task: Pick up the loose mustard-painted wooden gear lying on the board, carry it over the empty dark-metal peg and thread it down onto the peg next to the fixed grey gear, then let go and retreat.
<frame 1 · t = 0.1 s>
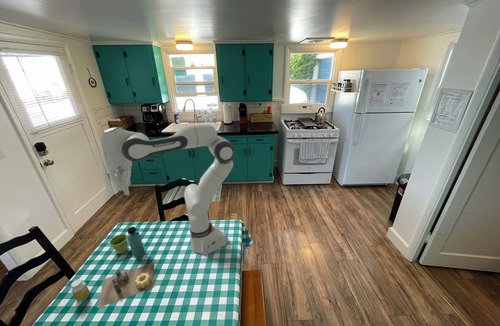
hand: (128, 189, 98), 48 cm above the table, fingers open, 8 cm apart
gear board: (129, 284, 103), on the table
plant pot: (122, 250, 125), on the table
supplement bottle: (83, 296, 99), on the table
loose gear: (143, 282, 103), point 1 cm above the table, touching gear board
beverage bottle: (139, 255, 121), on the table
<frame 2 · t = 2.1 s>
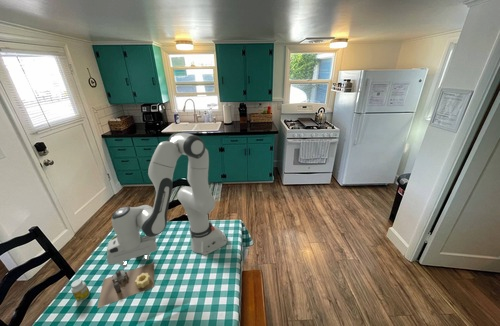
hand: (136, 262, 97), 15 cm above the table, fingers open, 8 cm apart
nothing on the table moved.
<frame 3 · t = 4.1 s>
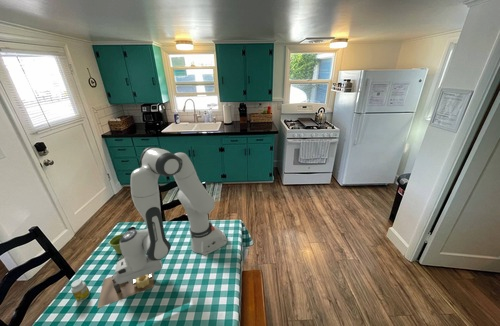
hand: (143, 280, 103), 3 cm above the table, fingers closed on loose gear, 6 cm apart
loose gear: (143, 282, 103), point 2 cm above the table, touching gear board, gripper
everything else where it was.
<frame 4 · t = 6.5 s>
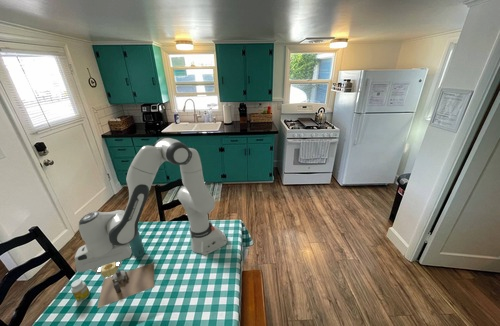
hand: (109, 269, 93), 17 cm above the table, fingers closed on loose gear, 6 cm apart
loose gear: (110, 271, 93), point 15 cm above the table, touching gripper
everything else where it was.
when the fingers open (5 cm above the table, at t = 9.1 s): loose gear drops 2 cm, resting on gear board.
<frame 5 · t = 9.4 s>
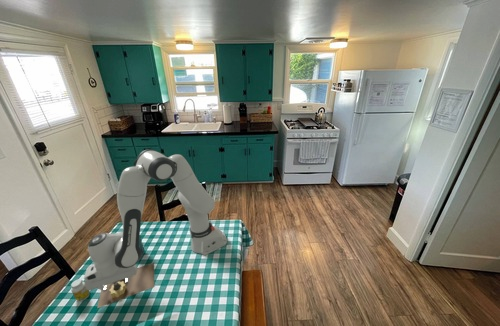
hand: (116, 286, 97), 5 cm above the table, fingers open, 8 cm apart
loose gear: (118, 291, 99), point 1 cm above the table, touching gear board
everything else where it was.
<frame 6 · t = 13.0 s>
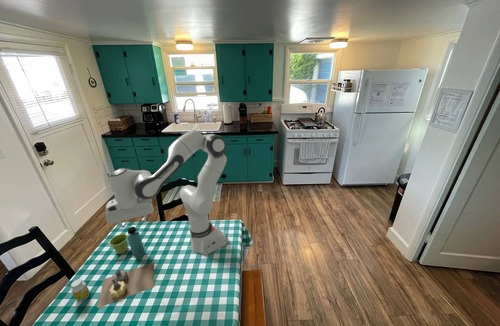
hand: (134, 224, 103), 29 cm above the table, fingers open, 8 cm apart
nothing on the table moved.
at the end: loose gear 0.1 cm from the target spot, point 1.5 cm above the table; loose gear tilted 0°; the gripper is holding nothing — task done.
